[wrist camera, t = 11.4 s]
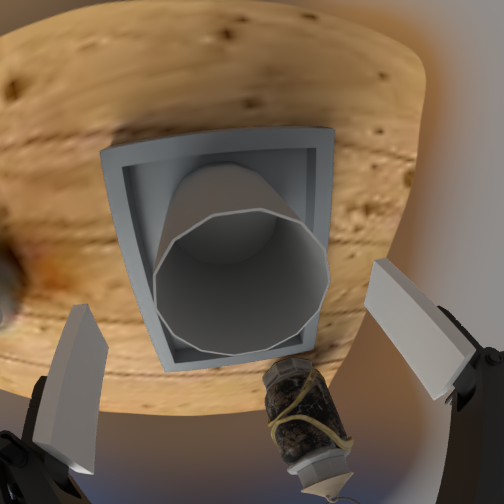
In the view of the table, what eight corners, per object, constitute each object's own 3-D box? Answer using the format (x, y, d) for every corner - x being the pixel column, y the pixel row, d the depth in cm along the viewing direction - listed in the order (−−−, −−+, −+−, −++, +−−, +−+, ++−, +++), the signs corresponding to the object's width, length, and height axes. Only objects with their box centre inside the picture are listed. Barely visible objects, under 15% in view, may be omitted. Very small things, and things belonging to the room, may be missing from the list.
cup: (275, 156, 20) (337, 199, 11) (278, 253, 24) (322, 337, 15) (159, 171, 19) (129, 227, 10) (178, 268, 23) (175, 363, 14)
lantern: (292, 393, 37) (347, 544, 15) (244, 387, 34) (290, 564, 12) (329, 356, 34) (409, 523, 12) (279, 346, 31) (356, 554, 9)
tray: (165, 355, 28) (164, 372, 26) (109, 145, 17) (99, 150, 15) (306, 334, 31) (313, 349, 29) (320, 126, 20) (334, 128, 18)
